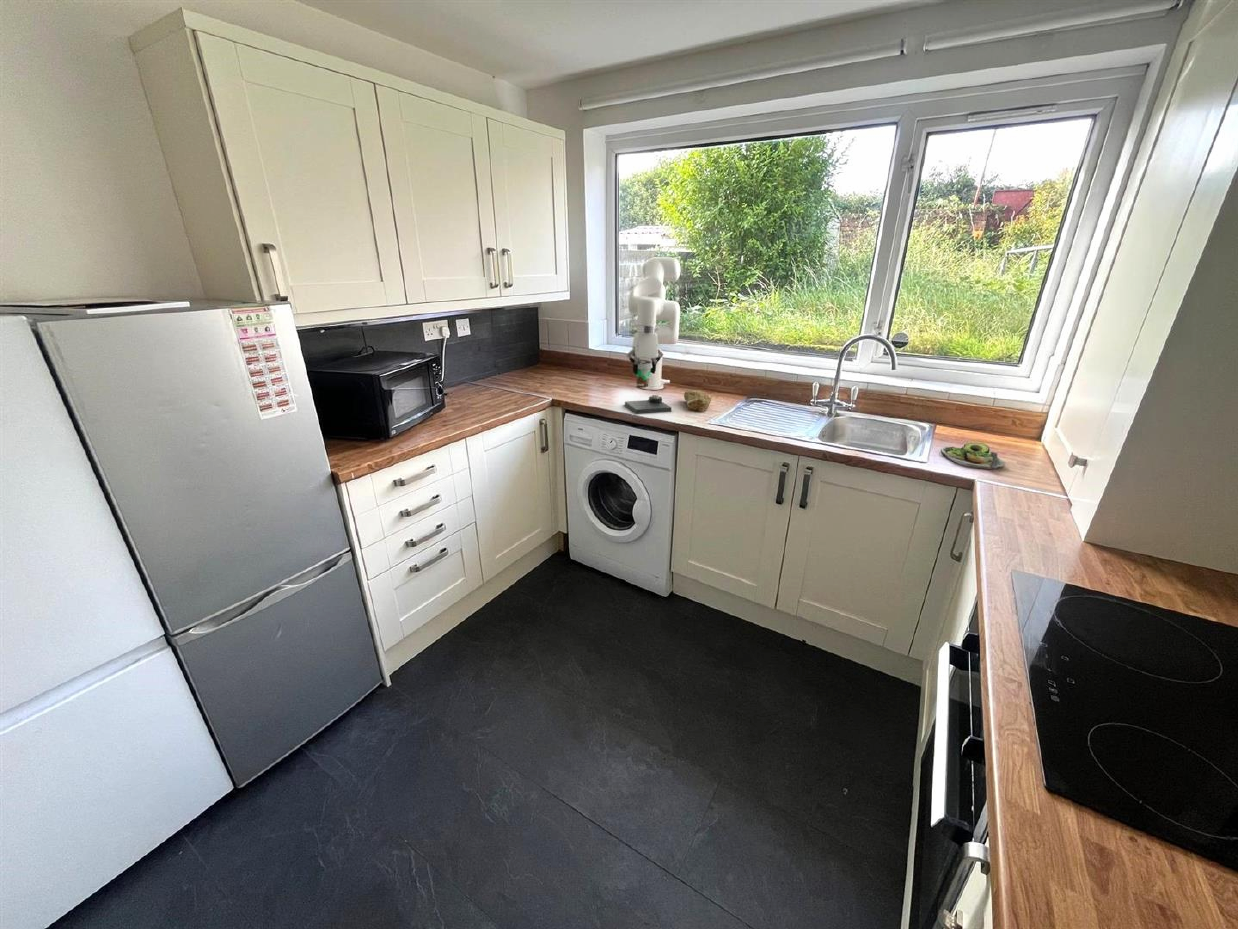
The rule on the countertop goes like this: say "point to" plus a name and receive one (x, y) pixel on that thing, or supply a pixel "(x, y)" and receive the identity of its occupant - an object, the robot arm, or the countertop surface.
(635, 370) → the robot arm
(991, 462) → the salad plate
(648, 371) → the food container
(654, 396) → the scale button
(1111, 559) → the countertop surface
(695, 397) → the mossy rock
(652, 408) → the scale
